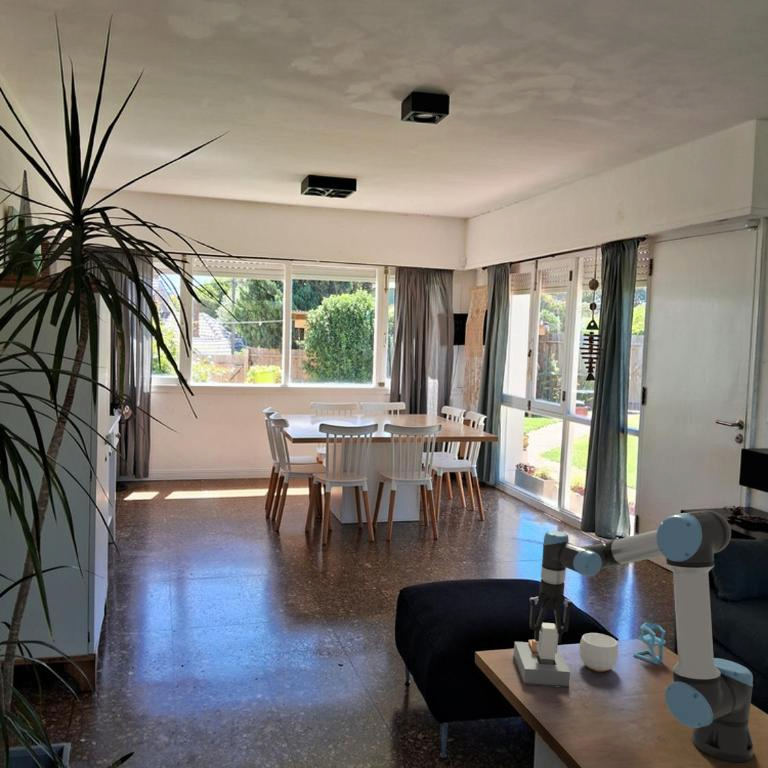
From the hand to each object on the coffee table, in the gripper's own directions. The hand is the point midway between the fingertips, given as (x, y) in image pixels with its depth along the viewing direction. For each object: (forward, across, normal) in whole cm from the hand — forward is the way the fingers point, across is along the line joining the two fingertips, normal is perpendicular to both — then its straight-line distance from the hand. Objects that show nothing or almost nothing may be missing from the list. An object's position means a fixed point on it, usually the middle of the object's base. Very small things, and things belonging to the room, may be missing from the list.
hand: (546, 650), depth 232 cm
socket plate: (+8, +1, -3) cm, 9 cm away
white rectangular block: (+4, 0, 0) cm, 4 cm away
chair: (+8, -40, -18) cm, 45 cm away
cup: (+8, -19, -8) cm, 22 cm away
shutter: (+3, 0, -9) cm, 9 cm away
